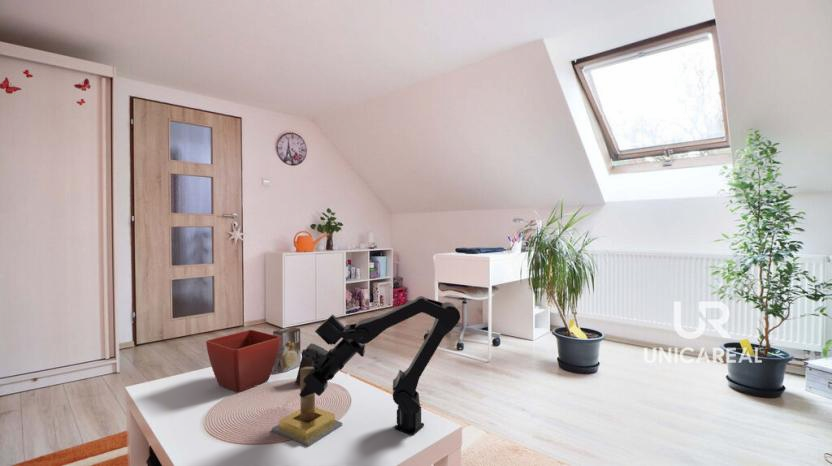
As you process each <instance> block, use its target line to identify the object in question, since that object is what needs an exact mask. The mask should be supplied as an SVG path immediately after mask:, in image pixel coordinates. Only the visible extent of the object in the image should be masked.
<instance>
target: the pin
mask: <svg viewBox="0 0 832 466" xmlns="http://www.w3.org/2000/svg"><path fill="white" fill-rule="evenodd" d="M312 370H315V368H314V367H304V368H301V369H300V385H299V387H300V393H301V391H302V390H303V388H304V387H305V385H306V383H305V382H304V380H303V379H304V378H305V377H306V376H307V375H308V374H309V372H311V371H312ZM300 393H299V394H300ZM315 407H316V393H313V394H310V395H308V396H305V397H301V396H300V409H301V419H302V420H311V419H313V418H314V417H315Z"/></svg>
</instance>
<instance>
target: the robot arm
mask: <svg viewBox="0 0 832 466" xmlns="http://www.w3.org/2000/svg"><path fill="white" fill-rule="evenodd" d="M421 313H423V314H426V315H429V316H430V317H432V318H434V320H433V324H432V327H431V330H430V331H429V333H428V334H427V336H426V337H425V339H424V340H423V343H422V344H421V346H420V348H419V349H418V351H417V352H416V354H415V356H414V358H413V359H412V362H411V363H410V364H409V366H408V368H407V369H406V370H404V371H402V370H401V369H399V370H398V373H397V375H396V376H395V378H394V379H392V399H393V402H394V404H396V405H397V409H396V424H397V425H395V426H394V429H395V430H397V431H399V432H402V433H406V434H408V435H412V436H413V435H415V434H416V433H418V431H419V430H421V429H422V428H423V427H424V426H425V423H424V422H422V406H421V403H420V394H419V392H418V391H417V388H418V384H419V381H420V378H421V376H422V374H423V373H424V371H425V369H426V367H427V366H428V365H429V363H430V360H431V359H432V357H433V356H434V354H435V352H437V349H438V347H439V346H440V345H441V342H442V341H443V339H444V338H445V336H446V335H448V334H449V333H451V331H453V330H454V328H455V327H456V326H457V325H458V323H459V322H460V320H461V312H460V311H459V309H458V308H457V306H456V305H455V304H454V303H453V302H450V301H448V302H447V301H446V302H441V301H438V300H434V299H430V298H427V297H425V296H424V295H423V296H422V295H421V296H418V297H416V298H415V299H413V300H411V301H409V302H406V303H404V304H403V305H401V306H398V307H395V308H394V309H392V310H389V311H388V312H385V313H383V314H381V315H377V316H376V315H375V316H370V317H366V318H362V319H361V320H359V321H358V322H357V323H351V324H346V325H344V324H343V323H342V322H340V320H339V319H337V317H336V316H335V315H334V314H331V315H330V316H329V317H328V318H327V319H326V320H324V321H323V322H322V323H321V324H320V325H319V326H318V327H317V328H316V329H315V330H314V333H316V335H318V336H319V337H320V339H322V340H323V341H324V342H325V343H326V344H327V345H328V346H329V345H330V346H332V345H335V346H334V347H333V348H330V349H329V350H327V349H325V348H324V347H321V346H319V345H318V344H315V343H314V342H313V343H310V344H309V345H308V346H306V348H305V349H306V351H305V352H304V355H303V358H304V359H307V360H309V361H311V362H314V363H317V364H316V365H315V370H312V371H311V372H309V374H308V375H307V376H306V377H305V378H304V379H303V380H304V382H305V383H306V385H305V387H304V388H303V390H302V391H301V393H298V394H299V396H300V398H301V397H305V396H308V395H310V394H313V393H315V395H316V396H318V397H320V396H321V395H322V394H323V393H324V392H325V390H327V387H329V385H328V381H331V380H333V379H334V377H335V375H336V374H337V373H338V372H339V371H341V370H342V369H344V367H345V365H347V364H348V363H349V362H350V361H351V359H352V358H353V357H354V356H355V355H356V354H358V355H359V356H360V357H364V356H365V353H366V344H368V343H370V342H372V341H373V340H374V339H376V338H377V337H378V336H379V335H380V334H382V333H383V332H384V331H386V330H387V329H389V328H391V327H394V326H395V325H398V324H400V323H401V322H404V321H406V320H408V319H410V318H413V317H414V316H416V315H419V314H421Z"/></svg>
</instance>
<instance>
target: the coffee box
mask: <svg viewBox="0 0 832 466" xmlns="http://www.w3.org/2000/svg"><path fill="white" fill-rule="evenodd" d="M272 335H275V336H279V337H280V343H279V348H278V353H277V356H276V360H275V363H274V366H273V371H277V372H281V373H286V372H288V371H291V370H294V369H296V368H299V367H300V363H301V359H302V351H301V328H300V327H294V326H288V327H285V328H281V329H277V330H276V329H275V330H273V331H272Z"/></svg>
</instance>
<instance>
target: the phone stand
mask: <svg viewBox="0 0 832 466" xmlns="http://www.w3.org/2000/svg"><path fill="white" fill-rule="evenodd" d="M306 349H307V348H304V349H302V350H301V363H300V366H299V367H298V372H297V375H296V379H295V383H294V384H295V385H298V386H300V369H301V368H304V367H314V368H315V365H316V364H317V363H314V362H311V361H309V360H307V359H304V358H303V355H304V352H305V351H306Z"/></svg>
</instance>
